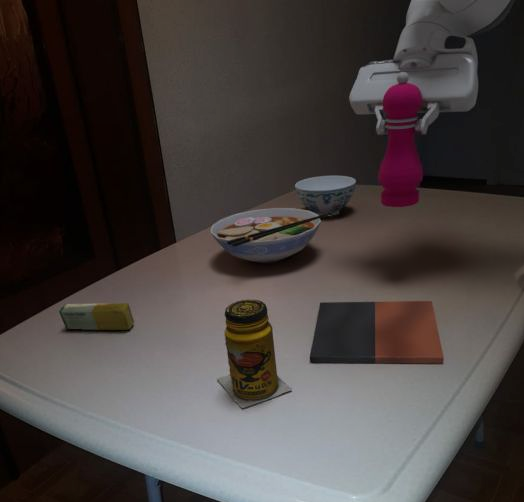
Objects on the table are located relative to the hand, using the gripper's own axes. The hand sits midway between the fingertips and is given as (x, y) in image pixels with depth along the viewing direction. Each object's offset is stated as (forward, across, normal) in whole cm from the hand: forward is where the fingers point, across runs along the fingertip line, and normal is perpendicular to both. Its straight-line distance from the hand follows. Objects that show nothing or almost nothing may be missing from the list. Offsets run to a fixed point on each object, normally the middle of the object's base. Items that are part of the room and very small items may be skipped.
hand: (400, 132), depth 89 cm
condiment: (+46, -6, -11) cm, 48 cm away
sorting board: (+32, +4, +3) cm, 33 cm away
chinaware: (-7, -31, +43) cm, 54 cm away
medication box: (+43, -40, -7) cm, 59 cm away
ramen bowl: (+16, -29, +20) cm, 39 cm away
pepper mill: (+8, 0, +9) cm, 12 cm away
